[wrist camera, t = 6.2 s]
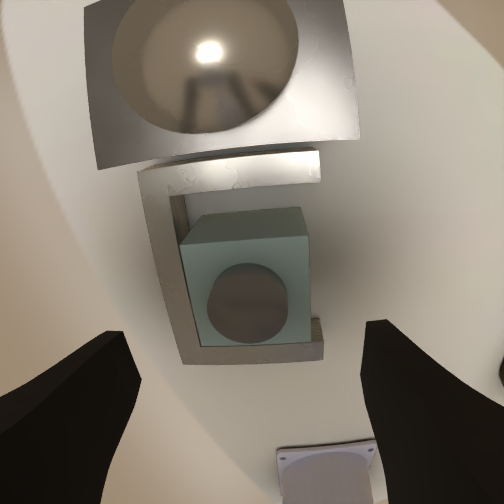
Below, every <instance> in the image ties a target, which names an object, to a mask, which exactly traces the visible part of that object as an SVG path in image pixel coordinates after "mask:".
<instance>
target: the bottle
mask: <svg viewBox="0 0 504 504" xmlns="http://www.w3.org/2000/svg"><path fill="white" fill-rule="evenodd" d="M500 377H501V382H502V384H503V386H504V362H503V365H502V369H501V373H500Z"/></svg>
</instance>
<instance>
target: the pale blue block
mask: <svg viewBox="0 0 504 504" xmlns="http://www.w3.org/2000/svg"><path fill="white" fill-rule="evenodd" d="M180 250H181V255H182V260H183V265H184V270H185V275H186V280H187V285H188V289H189V294H190V298H191V303H192V307H193V312H194V316H195V321H196V325H197V329H198V333H199V337H200V342H201V346H235V345H263V344H283V343H299V342H311V303H310V267H309V242H308V233H307V229H306V226H305V222H304V219H303V215H302V212H301V208H300V207H291V208H277V209H265V210H252V211H241V212H230V213H219V214H208V215H202V217H201V218H200V219H199V220H198V222H197V223H196V224H195V226H194V227H193V228H192V229H191V231H190V232H189V233H188V235H187V236H186V237H185V239H184V240H183V241H182V243H181V244H180Z"/></svg>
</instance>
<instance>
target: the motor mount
mask: <svg viewBox="0 0 504 504" xmlns="http://www.w3.org/2000/svg"><path fill="white" fill-rule="evenodd" d="M84 46H85V66H86V80H87V92H88V102H89V112H90V120H91V128H92V135H93V142H94V149H95V155H96V162H97V168H98V170H102V169H106V168H111V167H116V166H121V165H126V164H131V163H136V162H141V161H147V160H152V159H158V158H164V157H170V156H176V155H182V154H189V153H196V152H203V151H211V150H219V149H227V148H235V147H245V146H254V145H265V144H277V143H290V142H305V141H324V140H354V139H360V127H359V114H358V103H357V93H356V84H355V75H354V67H353V59H352V52H351V45H350V39H349V32H348V26H347V20H346V15H345V9H344V4H343V0H100V1H98V2H96V3H93V4H91V5H88V6H86V7H84ZM137 174H138V180H139V185H140V191H141V196H142V202H143V207H144V212H145V217H146V222H147V227H148V232H149V237H150V241H151V246H152V250H153V255H154V259H155V263H156V268H157V272H158V276H159V280H160V284H161V288H162V292H163V296H164V300H165V304H166V307H167V311H168V315H169V318H170V322H171V326H172V329H173V333H174V336H175V340H176V343H177V346H178V350H179V353H180V356H181V360H182V363H183V364H185V365H239V364H269V363H288V362H303V361H316V360H323V348H324V341H323V335H322V330H321V325H320V319H319V318H317V319H311V342H299V343H283V344H263V345H235V346H201V342H200V337H199V333H198V329H197V325H196V321H195V316H194V312H193V307H192V303H191V298H190V294H189V289H188V285H187V280H186V275H185V270H184V265H183V260H182V255H181V250H180V244H181V243H182V241H183V240H184V239H185V237H186V236H187V235H188V233H189V232H190V231H189V225H188V219H187V213H186V207H185V201H184V195H183V194H191V193H199V192H208V191H217V190H227V189H237V188H247V187H258V186H270V185H283V184H296V183H311V182H321V177H320V162H319V151H318V150H316V149H315V148H313V147H311V148H295V149H281V150H269V151H258V152H248V153H238V154H229V155H221V156H213V157H205V158H197V159H190V160H183V161H177V162H170V163H164V164H158V165H153V166H151V167H148V168H145V169H143V170H140V171H138V172H137Z"/></svg>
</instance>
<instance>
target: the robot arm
mask: <svg viewBox="0 0 504 504" xmlns="http://www.w3.org/2000/svg"><path fill="white" fill-rule="evenodd" d="M360 377H361V382H362V388H363V394H364V400H365V405H366V408H367V412H368V415H369V418H370V422H371V425H372V429H373V432H374V436H375V439H376V440H369V441H363V442H356V443H349V444H340V445H331V446H321V447H309V448H293V449H280V450H278V451H277V452H276V456H277V465H278V475H279V484H280V493H281V496H283V504H374V503H373V496H372V490H371V484H370V478H369V473H368V471H369V468H370V466H371V463H372V460H373V457H374V455H375V452H376V449H377V446H378V449H379V453H380V457H381V460H382V464H383V468H384V473H385V478H386V486H387V494H388V502H389V504H504V407H503V406H502V405H500V404H498V403H496V402H494V401H492V400H491V399H489V398H487V397H486V396H484V395H483V394H481V393H479V392H478V391H476V390H474V389H473V388H471V387H470V386H468V385H467V384H465V383H464V382H462V381H461V380H460V379H458V378H457V377H456V376H454V375H453V374H452V373H450V372H449V371H448V370H446V369H445V368H444V367H442V366H441V365H440V364H439V363H437V362H436V361H435V360H434V359H432V358H431V357H430V356H429V355H427V354H426V353H425V352H424V351H423V350H422V349H420V348H419V347H418V346H417V345H416V344H415V343H413V342H412V341H411V340H410V339H409V338H408V337H407V336H405V335H404V334H403V333H402V332H401V331H400V330H399V329H398V328H396V327H395V326H394V325H393V324H392V323H391V322H389V321H388V320H387V319H384V320H376V321H367V322H366V330H365V339H364V348H363V357H362V364H361V372H360ZM141 380H142V379H141V377H140V374H139V372H138V369H137V367H136V365H135V362H134V359H133V357H132V354H131V352H130V349H129V346H128V344H127V341H126V338H125V336H124V333H123V331H105V332H104V333H102V334H100V335H98V336H97V337H95V338H94V339H92V340H90V341H89V342H87V343H86V344H84V345H83V346H82V347H80V348H79V349H77V350H76V351H75V352H73V353H72V354H70V355H68V356H67V357H66V358H64V359H63V360H61V361H60V362H58V363H57V364H55V365H54V366H52V367H51V368H49V369H48V370H46V371H45V372H43V373H42V374H40V375H38V376H37V377H35V378H34V379H32V380H31V381H29V382H27V383H26V384H24V385H22V386H20V387H19V388H17V389H15V390H13V391H11V392H9V393H8V394H5V395H3V396H1V397H0V504H100V503H101V497H102V493H103V488H104V485H105V481H106V476H107V473H108V469H109V466H110V463H111V461H112V458H113V456H114V453H115V451H116V448H117V446H118V444H119V442H120V439H121V437H122V434H123V432H124V430H125V427H126V425H127V423H128V421H129V418H130V416H131V413H132V411H133V409H134V406H135V403H136V399H137V396H138V392H139V388H140V384H141Z"/></svg>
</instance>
